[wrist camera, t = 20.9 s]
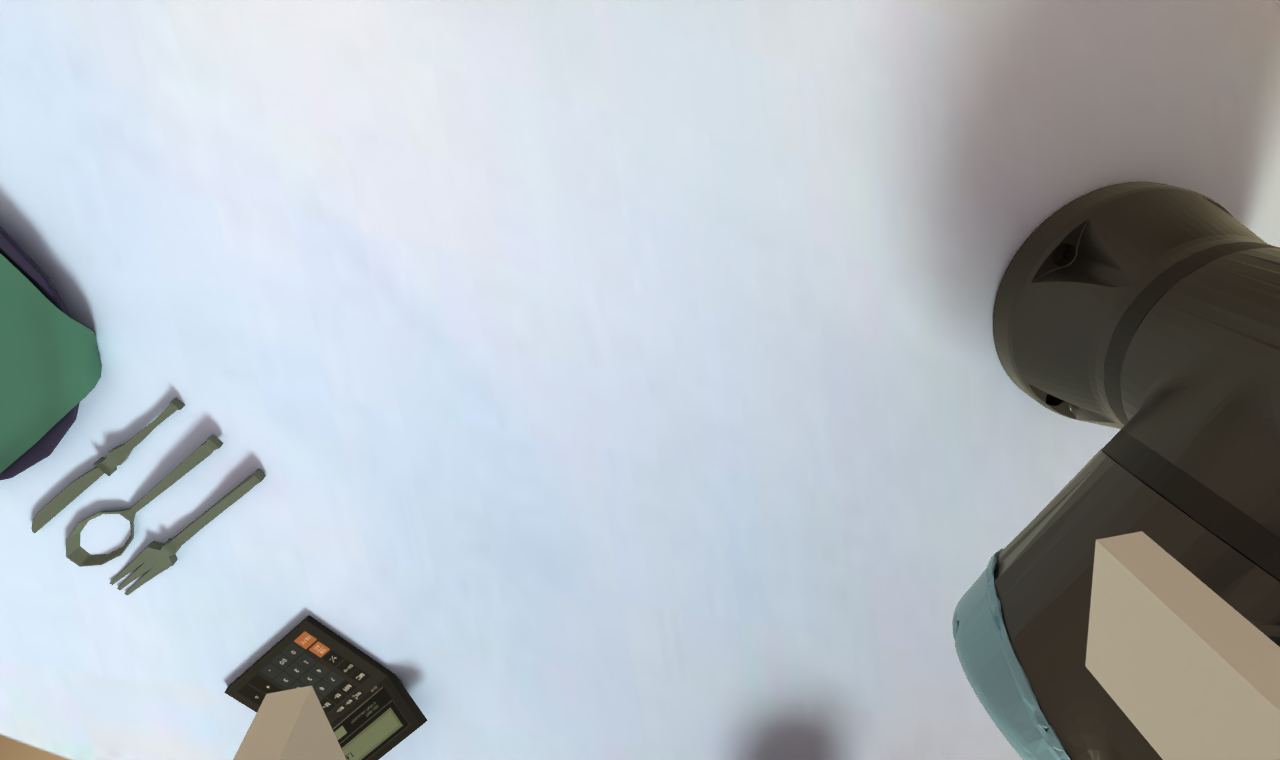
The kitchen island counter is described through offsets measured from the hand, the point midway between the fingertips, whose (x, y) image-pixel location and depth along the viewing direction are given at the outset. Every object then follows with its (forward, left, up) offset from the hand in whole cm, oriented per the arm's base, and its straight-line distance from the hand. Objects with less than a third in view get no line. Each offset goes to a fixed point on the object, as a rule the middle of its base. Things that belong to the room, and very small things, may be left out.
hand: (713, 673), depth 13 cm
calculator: (+28, +30, -35) cm, 54 cm away
